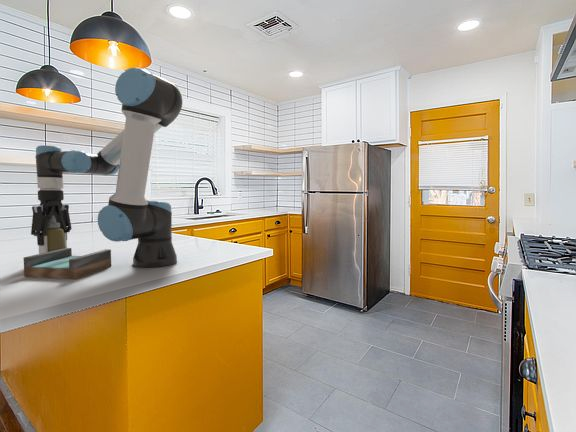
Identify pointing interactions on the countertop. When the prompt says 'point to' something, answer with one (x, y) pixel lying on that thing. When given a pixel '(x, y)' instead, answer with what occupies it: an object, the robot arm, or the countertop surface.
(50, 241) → the squeeze bottle
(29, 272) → the dock
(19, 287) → the countertop surface
